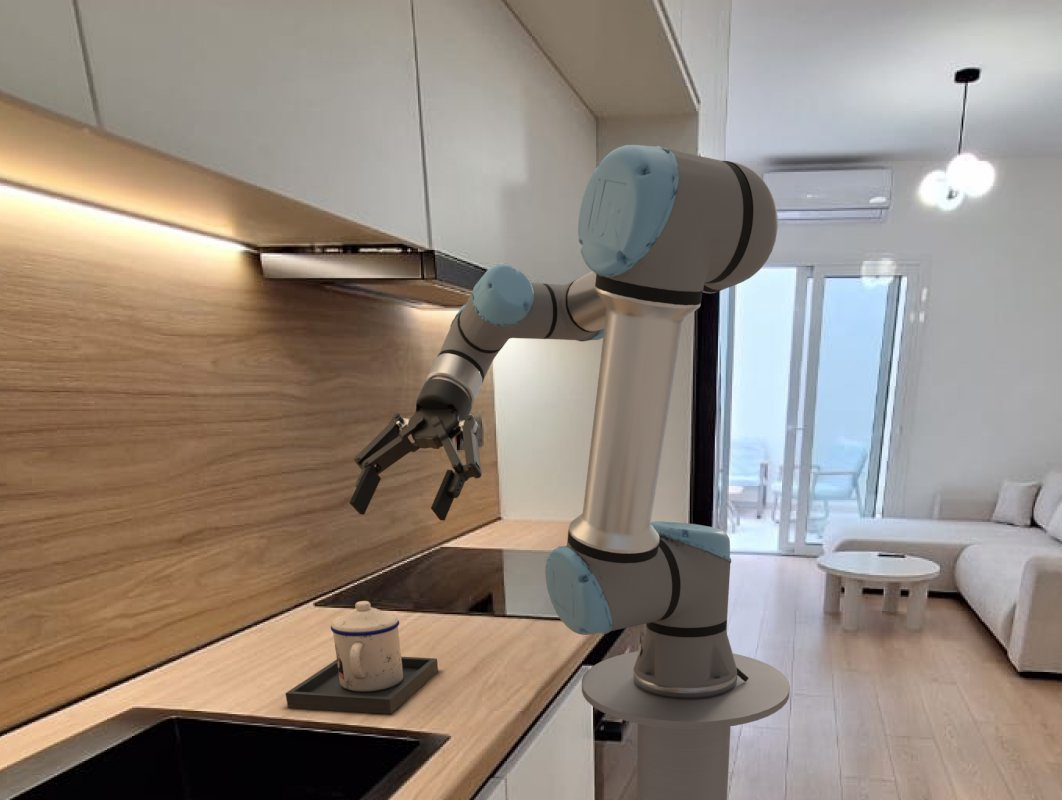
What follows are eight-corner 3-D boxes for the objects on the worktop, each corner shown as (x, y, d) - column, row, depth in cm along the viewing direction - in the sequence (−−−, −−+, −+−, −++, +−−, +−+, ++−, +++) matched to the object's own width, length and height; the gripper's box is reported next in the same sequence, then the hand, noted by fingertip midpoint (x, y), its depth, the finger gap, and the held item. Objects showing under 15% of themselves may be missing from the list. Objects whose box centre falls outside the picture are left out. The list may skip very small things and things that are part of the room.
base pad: (438, 671, 121) (437, 658, 120) (391, 714, 106) (389, 699, 105) (346, 666, 123) (345, 653, 122) (287, 707, 108) (285, 693, 107)
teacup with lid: (348, 671, 119) (338, 594, 115) (410, 670, 120) (402, 593, 115) (324, 702, 108) (311, 618, 104) (393, 700, 108) (383, 617, 104)
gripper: (532, 414, 119) (485, 533, 112) (392, 411, 128) (339, 522, 120) (512, 375, 113) (461, 499, 105) (366, 375, 121) (309, 489, 114)
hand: (396, 511), depth 113 cm, fingers open, 13 cm apart
